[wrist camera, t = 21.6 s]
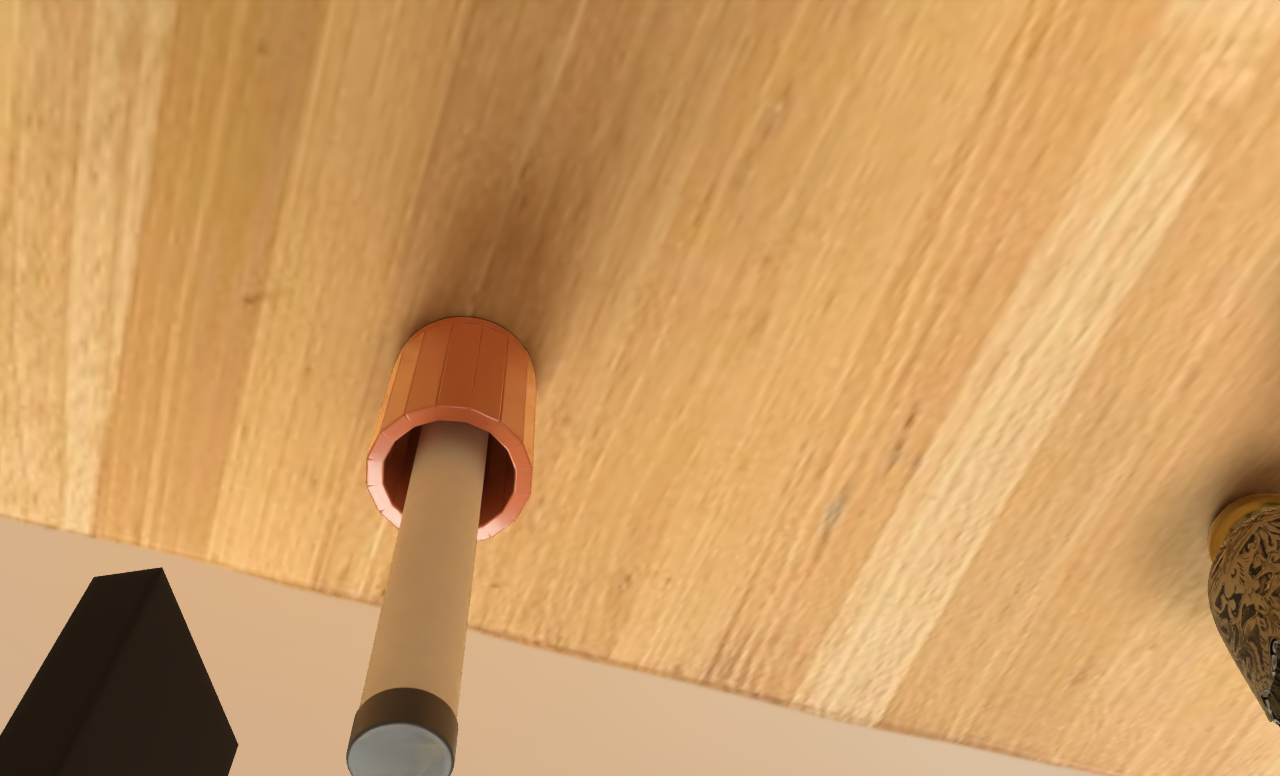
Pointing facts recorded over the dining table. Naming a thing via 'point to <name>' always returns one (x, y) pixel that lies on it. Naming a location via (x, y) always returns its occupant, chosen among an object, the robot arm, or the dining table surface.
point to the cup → (1249, 591)
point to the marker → (424, 613)
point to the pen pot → (459, 414)
